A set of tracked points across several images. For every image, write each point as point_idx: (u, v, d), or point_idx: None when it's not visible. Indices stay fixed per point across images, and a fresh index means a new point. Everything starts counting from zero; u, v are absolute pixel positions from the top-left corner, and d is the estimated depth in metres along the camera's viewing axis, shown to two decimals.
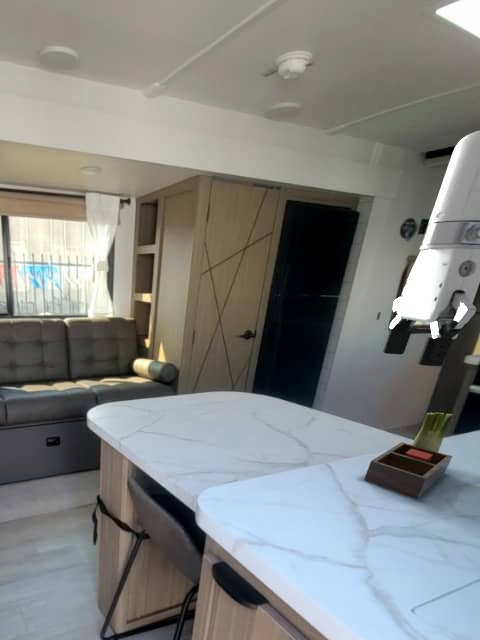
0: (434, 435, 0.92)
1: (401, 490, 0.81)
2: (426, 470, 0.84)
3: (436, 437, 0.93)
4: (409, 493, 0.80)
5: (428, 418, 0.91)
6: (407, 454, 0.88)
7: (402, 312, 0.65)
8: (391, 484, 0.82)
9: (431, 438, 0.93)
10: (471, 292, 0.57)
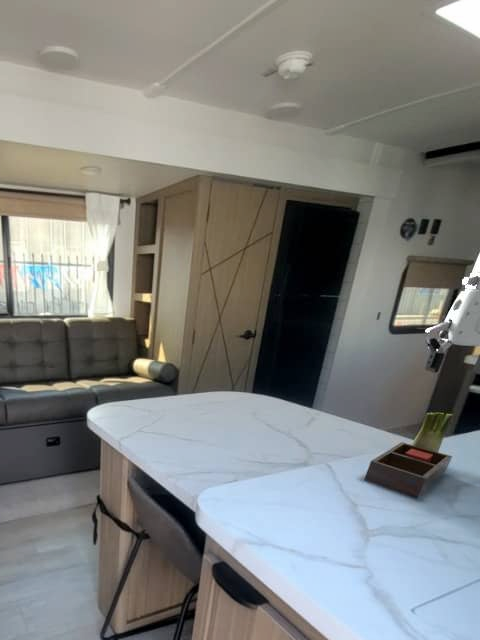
0: (434, 435, 0.92)
1: (401, 490, 0.81)
2: (426, 470, 0.84)
3: (436, 437, 0.93)
4: (409, 493, 0.80)
5: (428, 418, 0.91)
6: (407, 454, 0.88)
7: None
8: (391, 484, 0.82)
9: (431, 438, 0.93)
10: (456, 321, 0.80)
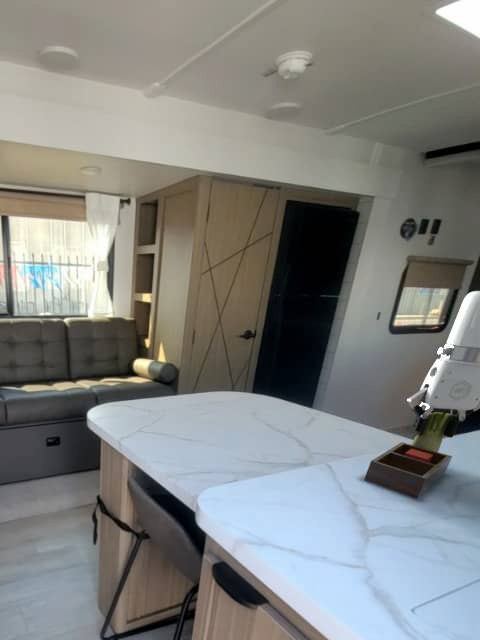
0: (433, 434, 0.92)
1: (401, 490, 0.81)
2: (426, 470, 0.84)
3: (436, 437, 0.93)
4: (409, 493, 0.80)
5: (427, 418, 0.91)
6: (407, 454, 0.88)
7: None
8: (391, 484, 0.82)
9: (431, 438, 0.93)
10: (432, 387, 0.87)
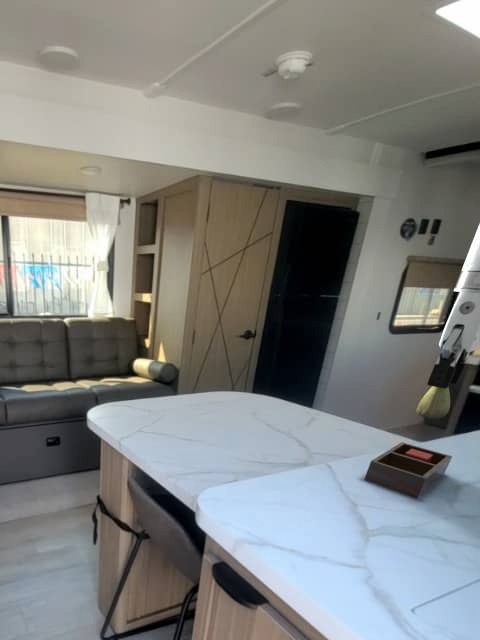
0: None
1: (401, 490, 0.81)
2: (426, 470, 0.84)
3: None
4: (409, 493, 0.80)
5: None
6: (407, 454, 0.88)
7: None
8: (391, 484, 0.82)
9: (447, 388, 0.78)
10: (471, 326, 0.70)
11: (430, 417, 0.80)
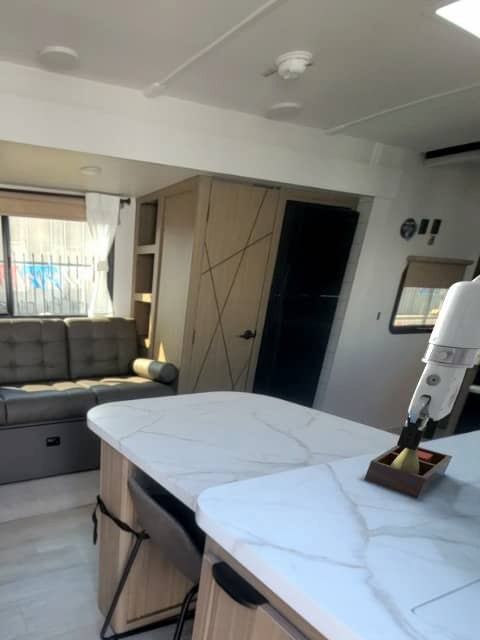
0: (416, 451, 0.81)
1: (401, 490, 0.81)
2: (426, 470, 0.84)
3: (417, 452, 0.82)
4: (409, 493, 0.80)
5: None
6: None
7: None
8: (391, 484, 0.82)
9: (416, 455, 0.81)
10: (437, 398, 0.73)
11: None
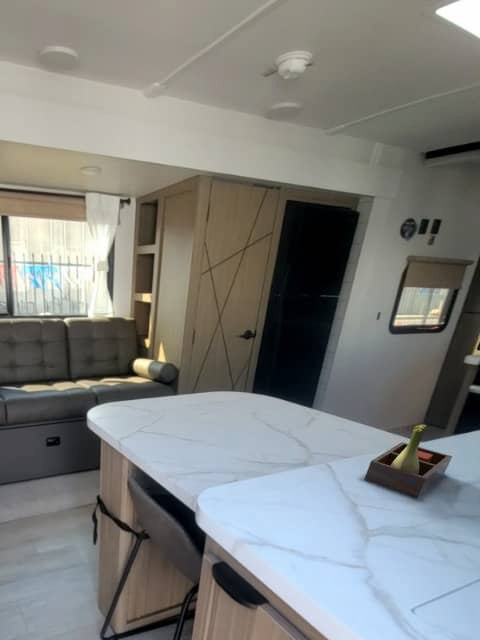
0: (416, 451, 0.81)
1: (401, 490, 0.81)
2: (426, 470, 0.84)
3: (417, 452, 0.82)
4: (409, 493, 0.80)
5: (419, 435, 0.78)
6: None
7: None
8: (391, 484, 0.82)
9: (416, 455, 0.81)
10: None
11: None
